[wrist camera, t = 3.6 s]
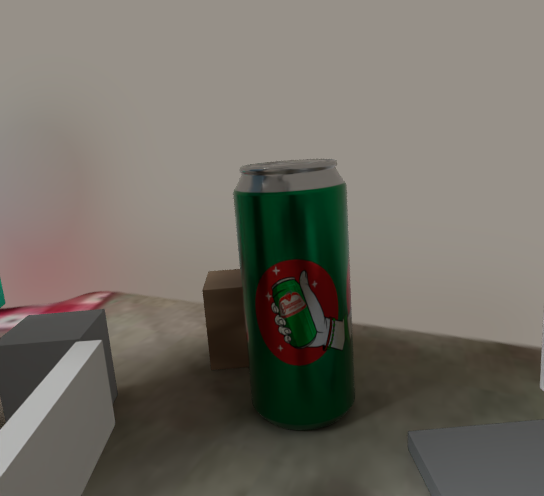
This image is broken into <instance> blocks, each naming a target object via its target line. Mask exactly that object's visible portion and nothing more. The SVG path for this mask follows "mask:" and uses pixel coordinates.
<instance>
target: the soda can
mask: <svg viewBox="0 0 544 496" xmlns="http://www.w3.org/2000/svg"><path fill="white" fill-rule="evenodd" d="M336 165H337V162H336V160H333V159H307V160H290V161H277V162H267V163H258V164H250V165H245V166H242V167H240V172H241V173H242V176H241V178H240V180H239V182H238V184H237V186H236V188H235V190H234V193H233V195H234V205H235V217H236V228H237V239H238V251H239V261H240V273H241V284H242V295H243V306H244V317H245V328H246V339H247V350H248V361H249V372H250V383H251V394H252V403H253V406H254V408H255V409H256V411H257V412H258V413H259V414H261V415H262V416H263V417H264V418H265V419H266V420H267V421H269V422H270V423H272V424H274V425H276V426H278V427H281V428H285V429H290V430H312V429H318V428H322V427H325V426H328V425H330V424H332V423H334V422H336V421H337V420H339V419H340V418H341V417H342V416H343V415H344V414H345V413H346V412H347V411H348V410H349V409H350V407H351V406H352V404H353V402H354V399H355V388H354V364H353V339H352V315H351V289H350V265H349V240H348V216H347V190H346V183H345V182H344V181H343V179H342V177H341V176H340V175H339V173H338V171H337V170H336V168H335V166H336Z"/></svg>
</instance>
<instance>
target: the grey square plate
mask: <svg viewBox="0 0 544 496" xmlns="http://www.w3.org/2000/svg"><path fill="white" fill-rule="evenodd" d="M408 449H409V451H410V453H411V455H412V457H413V459H414V461H415V463H416V465H417V468H418V470H419V472H420V474H421V476H422V478H423V480H424V482H425V484H426V486H427V488H428V490H429V492H430V494H431V496H544V419H542V420H530V421H519V422H508V423H496V424H485V425H474V426H462V427H451V428H440V429H428V430H417V431H408Z"/></svg>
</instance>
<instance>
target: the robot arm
mask: <svg viewBox="0 0 544 496" xmlns="http://www.w3.org/2000/svg"><path fill="white" fill-rule="evenodd" d="M540 388H541V389H542V390H543V391H544V314H543V334H542V354H541V374H540ZM114 426H115V418H114V411H113V405H112V399H111V392H110V386H109V380H108V373H107V367H106V361H105V355H104V348H103V342H102V340H93V341H81V342H75V344H74V345H73V346H72V347H71V348H70V349H69V351H68V352H67V353H66V354H65V355H64V356H63V357H62V359H61V360H60V361H59V362H58V363H57V364H56V366H55V367H54V368H53V369H52V370H51V371H50V373H49V374H48V375H47V376H46V377H45V378H44V380H43V381H42V382H41V383H40V384H39V385H38V387H37V388H36V389H35V390H34V391H33V392H32V394H31V395H30V396H29V397H28V398H27V399H26V401H25V402H24V403H23V404H22V405H21V406H20V407H19V409H18V410H17V411H16V412H15V413H14V414H13V416H12V417H11V418H10V419H9V420H8V421H7V423H6V424H5V425H4V426H3V427H2V428H1V430H0V496H81V495H82V493H83V491H84V489H85V487H86V485H87V482H88V480H89V478H90V476H91V474H92V472H93V470H94V468H95V466H96V464H97V462H98V459H99V457H100V455H101V453H102V451H103V449H104V447H105V445H106V443H107V441H108V439H109V436H110V434H111V432H112V430H113V428H114Z"/></svg>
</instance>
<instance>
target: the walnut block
mask: <svg viewBox="0 0 544 496" xmlns="http://www.w3.org/2000/svg"><path fill="white" fill-rule="evenodd" d="M203 298H204V308H205V317H206V327H207V336H208V345H209V354H210V363H211V370H217V369H229V368H241V367H249V361H248V350H247V339H246V328H245V317H244V306H243V295H242V284H241V273H240V269H234V270H222V271H210V272H208V275H207V278H206V281H205V284H204V287H203Z"/></svg>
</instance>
